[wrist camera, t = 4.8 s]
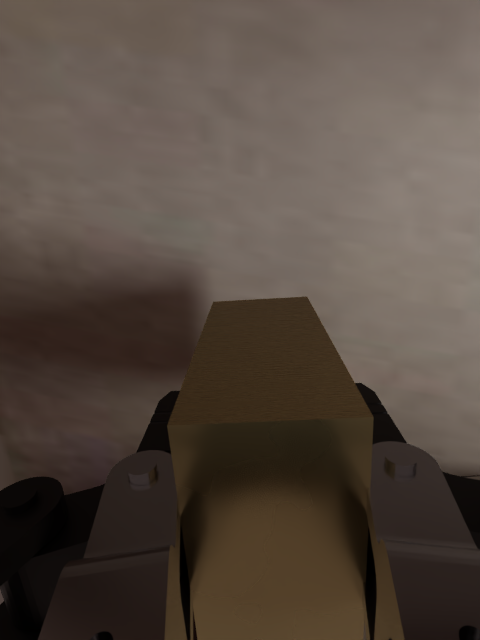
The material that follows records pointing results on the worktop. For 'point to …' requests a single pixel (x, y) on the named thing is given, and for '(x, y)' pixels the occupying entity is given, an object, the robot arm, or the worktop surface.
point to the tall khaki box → (272, 476)
